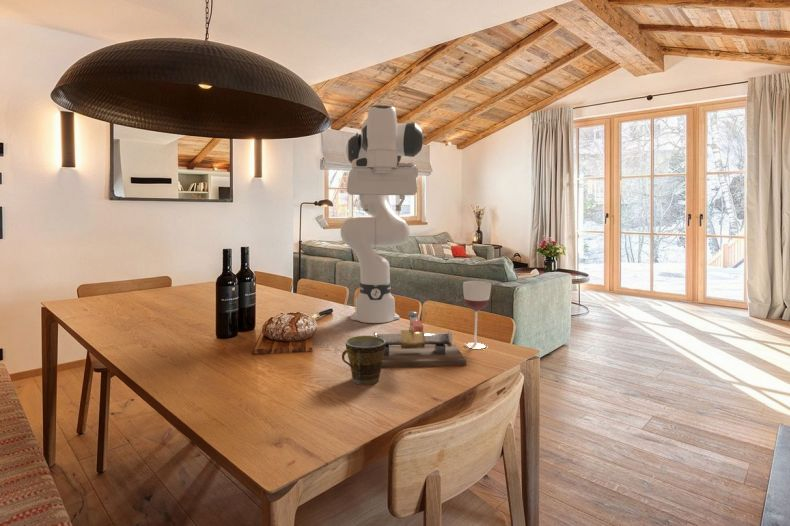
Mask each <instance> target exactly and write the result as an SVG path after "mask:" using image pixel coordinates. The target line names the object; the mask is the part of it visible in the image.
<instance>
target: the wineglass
mask: <svg viewBox="0 0 790 526" xmlns="http://www.w3.org/2000/svg"><path fill="white" fill-rule="evenodd" d="M491 288H492V282H490V281H485V280H467V281H463V282H462V291H463V292H462V293H463V300H464V302H465V303H464V304H465V305H466V306H467V307H468V308H469V309H471V310H473V311H474V332H473V333H474V338H473V342H467V343H468V344H466V343H465V344H466V345H467V346H468V347H469V348H472V349H481V348H485V347H486V346H485V345H486V344H485V345H484V343H482V344H481V342H478V313H479V311H481V310H482V309H484V308H486V307H487V305H488V304H489V301H490V297H491V290H492V289H491ZM472 349H471V350H472Z"/></svg>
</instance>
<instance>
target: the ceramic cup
mask: <svg viewBox="0 0 790 526" xmlns="http://www.w3.org/2000/svg"><path fill="white" fill-rule="evenodd" d="M344 343H345V348H346V349H345V350H343V351H342V354H341V359H342V360H341V361H343V362H344V363H345V364H347V365H348V366H349V367H350V372H351V378H352V379H351V380H352V383H354V384H357V385H359V386H363V385H364V386H365V385H366V386H367V385H369V386H370V385H373V384H376V383H378V382H379V381H380V376H381V375H380V374H381V370H382V369H381V368H382V367H381V365H382V359H383V356H384V351H385V345H386V341H385V340H384V339H383V338H380V337H376V336H374V335H359V336H358V335H357V336H352V337H350V338H348V339H346V340H345V342H344ZM346 354H347V358H348V361H349V362H348V361H346V359H345V356H346Z"/></svg>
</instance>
